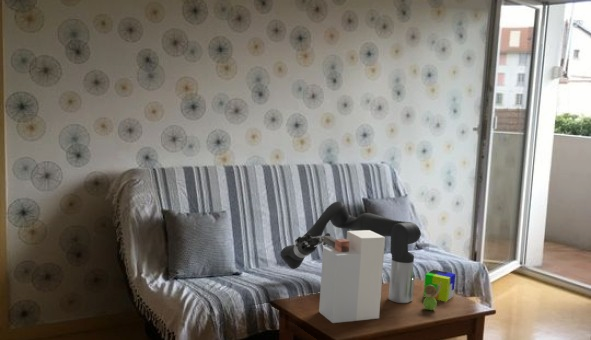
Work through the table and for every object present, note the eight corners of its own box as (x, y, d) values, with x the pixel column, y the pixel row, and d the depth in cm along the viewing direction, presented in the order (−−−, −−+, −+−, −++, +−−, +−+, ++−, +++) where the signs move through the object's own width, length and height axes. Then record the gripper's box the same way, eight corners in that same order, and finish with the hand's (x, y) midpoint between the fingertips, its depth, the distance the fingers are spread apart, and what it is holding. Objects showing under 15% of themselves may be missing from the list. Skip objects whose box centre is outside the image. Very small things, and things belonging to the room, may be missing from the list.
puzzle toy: (453, 296, 272) (455, 274, 271) (445, 301, 264) (447, 279, 262) (431, 291, 277) (433, 269, 276) (423, 296, 269) (425, 274, 268)
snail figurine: (438, 313, 249) (441, 284, 247) (422, 311, 250) (425, 282, 249) (438, 308, 254) (441, 280, 253) (422, 306, 255) (425, 278, 254)
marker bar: (330, 241, 249) (331, 231, 249) (348, 251, 235) (349, 241, 234) (321, 241, 248) (322, 232, 247) (339, 252, 233) (340, 241, 232)
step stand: (363, 307, 250) (369, 230, 246) (379, 318, 239) (385, 237, 235) (319, 312, 242) (324, 232, 238) (332, 323, 231) (338, 239, 227)
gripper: (321, 254, 266) (336, 243, 253) (290, 256, 261) (304, 245, 247) (318, 237, 269) (333, 226, 255) (288, 239, 264) (302, 227, 250)
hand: (319, 235), depth 251 cm, fingers open, 8 cm apart
